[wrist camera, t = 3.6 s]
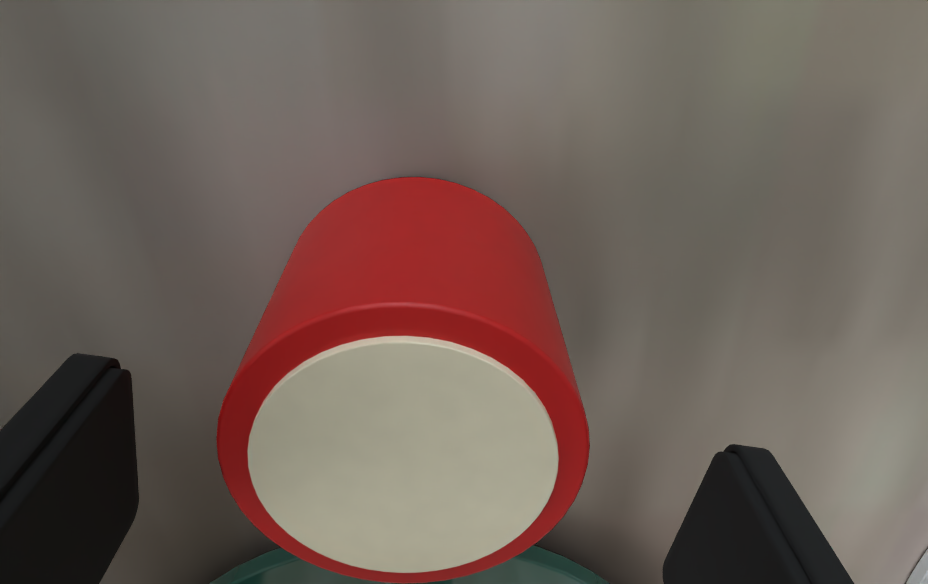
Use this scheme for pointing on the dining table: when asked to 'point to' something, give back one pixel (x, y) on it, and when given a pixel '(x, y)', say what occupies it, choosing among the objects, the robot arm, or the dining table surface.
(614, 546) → the dining table surface
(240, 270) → the dining table surface
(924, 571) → the kettle
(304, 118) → the dining table surface
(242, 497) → the red short cylinder
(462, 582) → the pot lid
